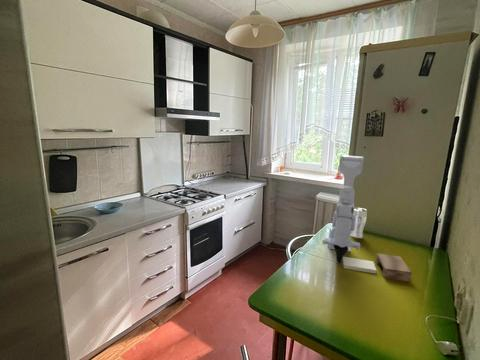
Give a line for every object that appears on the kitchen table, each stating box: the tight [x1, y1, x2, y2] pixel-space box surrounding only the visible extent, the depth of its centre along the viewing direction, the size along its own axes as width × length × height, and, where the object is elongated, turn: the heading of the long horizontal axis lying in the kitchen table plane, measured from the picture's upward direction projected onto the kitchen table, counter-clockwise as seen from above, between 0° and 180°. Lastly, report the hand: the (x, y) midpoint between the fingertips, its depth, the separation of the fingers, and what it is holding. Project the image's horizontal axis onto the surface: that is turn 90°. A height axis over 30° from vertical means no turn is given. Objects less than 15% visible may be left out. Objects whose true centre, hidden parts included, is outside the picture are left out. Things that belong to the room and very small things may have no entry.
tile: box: [341, 256, 378, 274], centre depth 105 cm, size 12×7×2 cm, turn 73°
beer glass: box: [350, 206, 368, 239], centre depth 133 cm, size 7×7×15 cm
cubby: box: [375, 253, 413, 283], centre depth 102 cm, size 9×12×4 cm
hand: (338, 261), depth 107 cm, fingers closed
